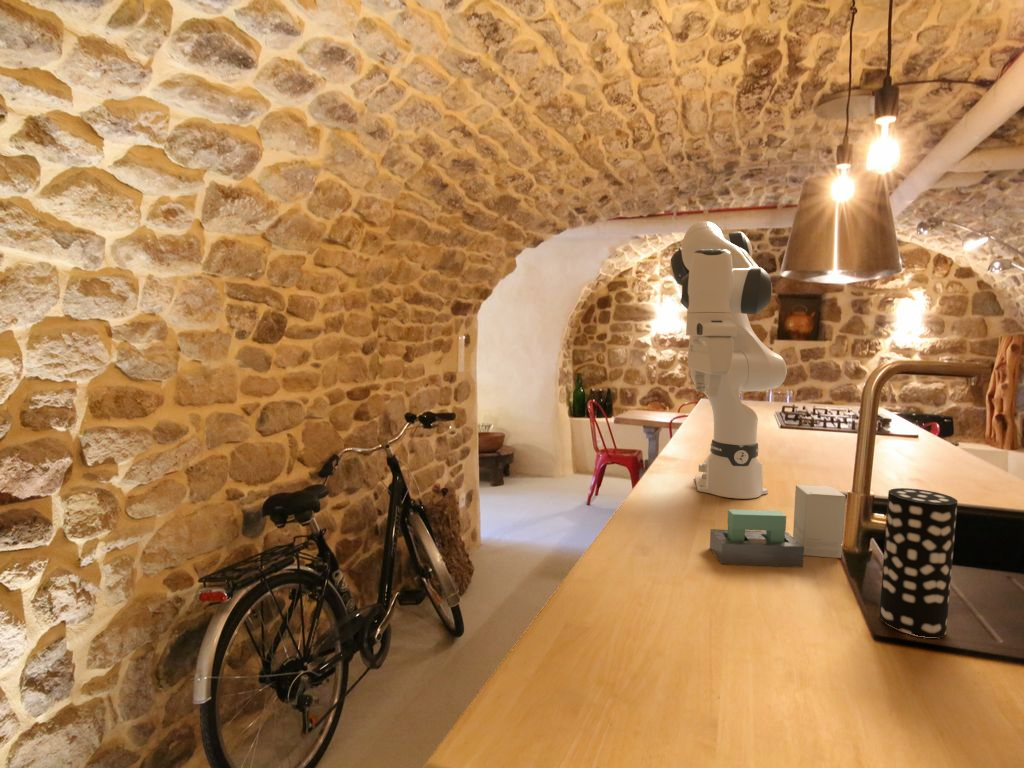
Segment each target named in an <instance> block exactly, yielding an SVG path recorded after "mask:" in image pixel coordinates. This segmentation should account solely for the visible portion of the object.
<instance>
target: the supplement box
mask: <svg viewBox="0 0 1024 768" xmlns="http://www.w3.org/2000/svg"><path fill="white" fill-rule="evenodd" d="M794 492H795V494H794V511H793V531H792V537H793V538H794V539H796V540H797V541H798V542H799V543H800V544H801V545H803V546H804V556H811V557H822V558H834V559H842V558H841V555H842V556H843V549H842V547H841V544H842V541H843V542H844V533H845V532H844V531H845V529H844V528H845V515H846V514H845V513H846V499H847V496H846V495H845V494H843V493H842V492H841V491H840V490H838V489H836V488H835V487H834V486H827V485H806V484H804V485H803V484H796V485H795V491H794Z"/></svg>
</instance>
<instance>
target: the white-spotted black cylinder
mask: <svg viewBox="0 0 1024 768" xmlns="http://www.w3.org/2000/svg"><path fill="white" fill-rule="evenodd" d="M957 511H958V499H956V498H954V497H953V496H950V495H947V494H944V493H940V492H936V491H932V490H928V489H927V490H926V489H919V488H908V487H907V488H905V487H903V488H902V487H900V488H899V487H898V488H891V489H889V490H888V493H887V506H886V523H885V534H884V535H885V536H884V548H883V549H884V550H883V551H884V552H883V558H882V559H883V561H882V573H881V589H880V599H879V600H880V603H879V615H880V617H879V619H880V618H881V619H882V620H883V621H884V622H886V623H887V624H889V625H891V626H893V627H895V628H897V629H900V630H903V631H906V632H908V633H911V634H915V635H918V636H925V637H942V636H944V635H945V634H946V635H947V627H948V616H949V605H950V604H949V603H950V593H951V583H952V570H953V561H954V560H953V558H954V547H955V535H956V524H957V515H958V514H957ZM881 619H880V620H881ZM946 635H945V636H946ZM945 636H944V637H945ZM942 638H943V637H942Z"/></svg>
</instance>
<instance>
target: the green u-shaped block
mask: <svg viewBox="0 0 1024 768" xmlns="http://www.w3.org/2000/svg"><path fill="white" fill-rule="evenodd" d="M726 524H727V530H728V532H727V539H728V540H733V541H744V540H745V530H751V531H766V540H767V541H768V542H784V539H785V532H787V531H786V529H787V515H786V514H785V513H784V512H782V511H781V510H761V509H760V510H756V509H754V510H753V509H728V510H727V523H726Z"/></svg>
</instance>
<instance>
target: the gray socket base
mask: <svg viewBox="0 0 1024 768" xmlns="http://www.w3.org/2000/svg"><path fill="white" fill-rule="evenodd" d="M709 531H710V532H709V533H710V534H709V535H710V536H709V549H710V548H711V549H710V551H711V550H712V551H713V552H712V551H711V552H712V554H715V555H716V556H715V555H714V556H715V558H716V559H717V558H718V559H719V560H718V559H717V560H718V562H719V561H720V562H721V563H720V562H719V563H720V565H728V564H734V566H735V564H736V566H755V567H756V566H761V567H780V568H781V567H783V568H803V567H804V556H805V555H804V546H803V545H801V544H800V543H799V542H798V541H797V540H796V539H794V538H793V535H791V534H790V533H789V532H787V531H785V539H784V542H768V541H767V540H766V531H765V530H745V540H744V541H733V540H728V539H727V532H728V529H719V528H718V529H717V528H716V529H715V528H711V529H710V530H709Z"/></svg>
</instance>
